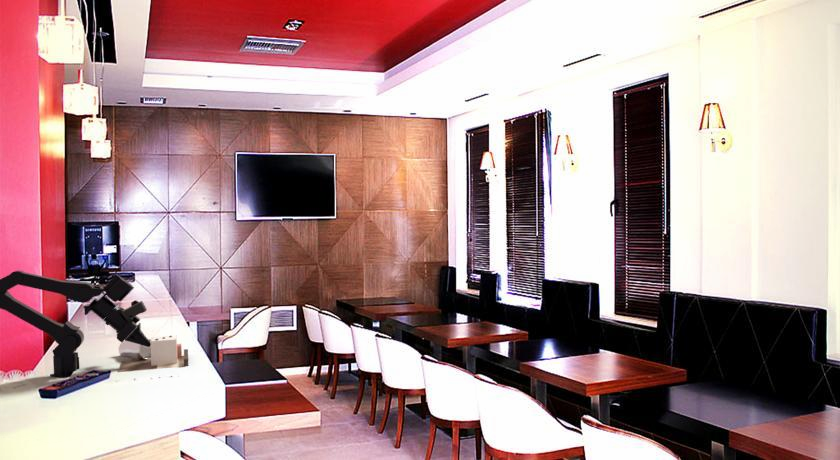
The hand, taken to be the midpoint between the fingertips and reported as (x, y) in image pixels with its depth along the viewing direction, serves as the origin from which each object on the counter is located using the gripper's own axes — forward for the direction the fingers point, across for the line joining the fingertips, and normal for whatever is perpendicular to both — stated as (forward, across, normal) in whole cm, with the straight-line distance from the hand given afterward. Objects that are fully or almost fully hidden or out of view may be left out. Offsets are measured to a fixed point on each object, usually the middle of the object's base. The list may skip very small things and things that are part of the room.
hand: (150, 345), depth 221 cm
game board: (+6, 0, +4) cm, 7 cm away
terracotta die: (+9, +7, -1) cm, 11 cm away
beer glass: (-3, +20, +8) cm, 22 cm away
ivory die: (+7, 0, +1) cm, 7 cm away
